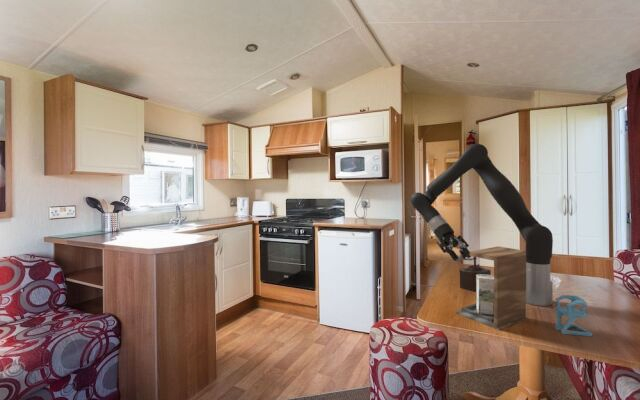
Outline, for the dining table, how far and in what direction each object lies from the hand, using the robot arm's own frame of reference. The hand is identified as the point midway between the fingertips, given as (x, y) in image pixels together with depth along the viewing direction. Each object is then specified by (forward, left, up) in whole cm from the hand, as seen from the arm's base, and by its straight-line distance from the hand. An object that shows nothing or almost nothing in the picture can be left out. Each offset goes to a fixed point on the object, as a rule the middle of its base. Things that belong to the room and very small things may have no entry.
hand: (463, 258), depth 127 cm
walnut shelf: (-6, +10, -20) cm, 23 cm away
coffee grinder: (-14, -24, -20) cm, 34 cm away
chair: (-26, +23, -20) cm, 40 cm away
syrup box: (-5, +8, -20) cm, 22 cm away
